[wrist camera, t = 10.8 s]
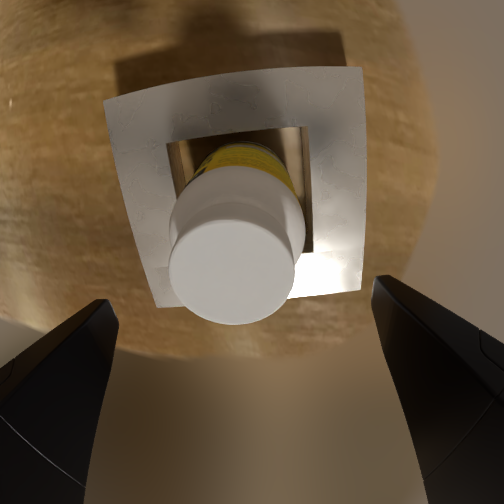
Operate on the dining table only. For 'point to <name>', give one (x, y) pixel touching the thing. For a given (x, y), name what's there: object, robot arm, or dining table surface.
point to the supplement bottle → (236, 235)
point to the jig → (239, 120)
